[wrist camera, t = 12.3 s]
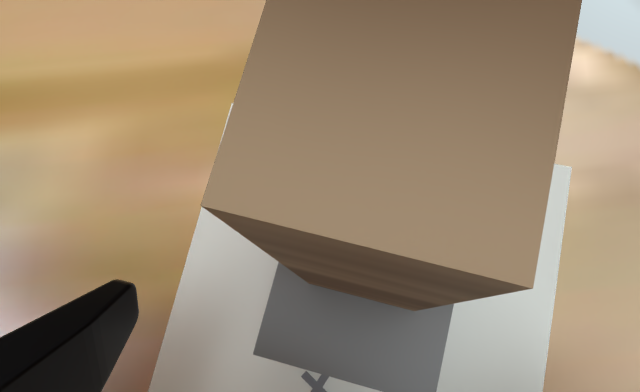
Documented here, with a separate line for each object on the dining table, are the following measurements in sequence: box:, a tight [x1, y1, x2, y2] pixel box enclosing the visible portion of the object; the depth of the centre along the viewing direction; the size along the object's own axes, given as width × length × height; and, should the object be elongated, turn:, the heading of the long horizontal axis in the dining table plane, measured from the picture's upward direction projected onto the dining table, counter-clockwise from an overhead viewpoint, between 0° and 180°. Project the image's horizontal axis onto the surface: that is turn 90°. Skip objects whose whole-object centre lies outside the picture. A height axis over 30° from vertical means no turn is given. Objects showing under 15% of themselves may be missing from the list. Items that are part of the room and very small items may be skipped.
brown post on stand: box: [201, 0, 582, 392], centre depth 11 cm, size 8×5×12 cm, turn 165°
